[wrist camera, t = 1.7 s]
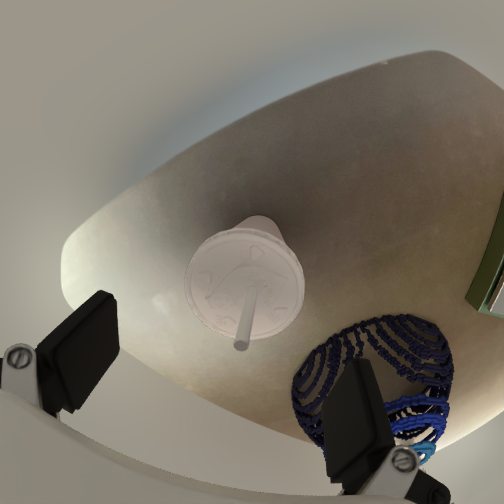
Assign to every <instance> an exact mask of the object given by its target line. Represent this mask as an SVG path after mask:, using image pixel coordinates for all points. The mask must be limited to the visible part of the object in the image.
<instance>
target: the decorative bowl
mask: <svg viewBox="0 0 504 504" xmlns="http://www.w3.org/2000/svg"><path fill="white" fill-rule="evenodd" d="M396 319H397V320H398V321H399V323H400V325H401V326H402V327H403V328H404V329H405V330H407V332H409V333H410V334H411V335H413V337H415V338H416V339H419V340H420V341H421V342H424V344H426V345H429V346H433V347H436V348H440V347H442V348H441V349H442V350H438V349H435V350H434V349H430V347H428V346H425V345H422V344H420V342H418V341H417V340H414V339H413V338H412V337H410V335H408V334H407V333H405V332H404V330H403V328H402V327H400V326H399V325H397V323H396ZM407 320H409V321H411V322H412V324H414V325H415V327H417V328H418V329H419V330H422V331H423V332H424V333H427V334H430V335H433V336H436V337H439V339H438V342H437V343H436V342H433V341H430V340H427V339H424V337H421V336H420V335H419V334H417V333H416V332H414V331H412V329H411V328H409V326H408V325H407V324H405V322H406V321H407ZM381 321H383V322H386V323H387V325H388V327H390V328H391V330H392V331H394V332H395V334H396V335H398V337H400V338H401V339H402V340H404V342H406V343H407V344H409V345H410V347H409V348H408V349H409V350H410V351H412V353H414V354H415V355H417V356H419V357H420V358H423V359H427V360H429V358H433V359H434V361H435V362H439V363H440V366H439V365H435V364H431V363H426V362H425V363H424V364H420V363H421V359H419V358H418V357H415V356H414V355H413V354H410V353H409V352H408V351H406V349H404V348H403V347H402V346H399V345H398V343H397V341H396V340H393V339H392V338H391V336H390V335H388V334H387V332H386V330H384V329H383V327H382V325H381V324H379V323H380V322H381ZM404 321H405V322H404ZM420 322H421V323H424V324H427V325H428V326H427V327H428V328H427V327H425V326H424V325H422V324H421V323H420ZM374 323H375V325H376V327H377V330H376V332H377V334H378V336H380V337H381V339H382V340H384V342H386V343H387V345H388V346H389V347H391V349H393V350H394V351H395V352H397V355H398V356H403V355H405V356H404V358H405V360H406V361H409V362H410V363H411V364H412V365H411V368H413V369H414V370H415V371H419V372H420V371H421V370H426V371H430V372H435V373H436V376H435V377H434V378H432V377H427V376H425V374H420V373H417V374H416V375H414V372H413V370H411V369H410V368H409V367H406V366H405V365H404V364H403V365H402V366H400V364H401V363H400V362H398V360H397V358H396V357H392V355H391V354H389V353H388V350H385V348H383V347H382V345H379V346H377V345H378V343H379V342H378V340H377V339H375V337H374V335H371V332H370V330H369V329H366V328H364V327H366V326H367V325H369V326H370V325H371V324H374ZM359 327H360V328H361V331H362V333H365V332H366V333H367V335H368V339H367V341H368V342H370V344H371V346H373V347H374V349H375V350H376V351H377V350H378V349H379V352H378V355H381V357H383V358H384V360H387V362H389V363H390V365H393V367H395V368H396V370H398V371H397V374H399V375H400V377H403V376H404V375H407V377H406V378H407V380H409V381H410V382H412V383H414V382H415V381H419V382H421V383H422V384H426V385H428V387H427V388H426V389H425V390H424V391H423V392H422V393H421V394H420V393H418V394H417V395H412V396H411V397H409V396H401V397H400V398H399V399H396V400H395V401H391V402H390V403H389V402H385V403H384V405H385V408H386V412H387V413H389V412H390V411H392V412H393V411H394V410H399V411H397V412H395V413H393V414H390V415H389V416H388V418H389V420H390V421H389V422H390V425H391V429H392V432H393V436H394V438H395V437H396V438H397V439H400V438H401V439H402V440H404V439H405V441H407V440H408V439H412V438H413V437H417V436H418V435H419V434H422V433H423V432H424V431H425V430H427V429H428V428H429V427H433V428H435V429H434V430H433V432H432V433H430V434H429V435H428V436H427V437H426V438H424V439H423V440H422V441H421V442H418V443H414V444H413V445H408V446H410V447H412V448H413V449H414V450H415V451H416V452H417V454H418V455H419V456H421V455H422V454H423V453H424V454H425V458H424V459H422V460H421V461H420V466H421V465H422V464H424V463H425V462H426V461H428V459H429V458H430V456H432V455H433V454H434V452H435V450H436V445H435V443H436V441H438V439H439V438H440V437H441V435H442V434H443V433H444V430H445V428H446V423H447V421H446V418H447V417H448V414H449V410H450V407H449V403H447V400H448V398H449V393H450V390H451V384H452V383H451V381H452V380H453V373H454V369H453V368H454V366H453V365H454V364H453V363H452V362H453V359H452V354H451V353H450V352H451V351H450V348H449V346H448V345H449V344H448V341H447V340H446V338H445V337H444V335H443V334H442V333H441V332H440V331H439V328H438V327H437V326H436V324H433V323H430V322H428V321H425V320H423V319H420V318H417V317H415V316H412V315H409V314H407V315H406V316H405V315H403V314H400V315H399V316H398V315H397V316H396V317H394V316H391V315H389V314H388V316H384V315H383V316H382V318H381V319H378V318H375V317H374V318H373V319H370V321H369V320H367V321H366V322H365V321H361V323H360V324H356V323H355V324H354V325H353V327H349V329H348V328H346V329H345V330H344V329H343V330H342V331H341V333H340V335H337V334H334V335H333V337H329V339H328V340H327V342H326V343H325V344H322V345H319V346H318V347H317V349H316V350H313V351H312V352H311V354H310V355H309V357H308V358H307V360H306V361H305V362H304V364H303V365H302V367H301V368H300V370H299V371H298V372H297V374H296V375H295V377H294V378H293V383H292V384H293V386H292V401H293V408H294V410H295V414H296V418H297V419H298V422H299V425H300V426H301V428H303V431H305V433H306V434H307V435H308V436H309V438H310V439H311V441H314V442H315V445H317V446H318V447H321V449H322V450H323V451H324V452H323V454H324V457H325V461H326V456H325V443H324V431H323V421H321V420H319V419H318V418H319V417H320V416H321V415H322V410H321V411H320V412H319V413H318V414H317V415H314V416H313V417H312V416H311V415H308V414H307V413H308V412H309V413H310V412H313V411H314V410H315V409H316V408H317V407H318V406H319V405H320V404H321V403H322V402H323V400H324V399H325V398H326V395H327V394H328V393H329V389H330V388H331V387H332V385H333V382H334V378H335V377H336V376H337V372H338V368H339V365H340V358H341V356H340V354H341V348H342V344H341V341H340V340H339V339H338V338H339V337H342V336H343V338H344V342H343V345H344V347H346V348H347V352H346V356H347V357H346V358H345V360H343V361H342V364H345V367H346V365H347V364H348V362H349V361H353V359H354V358H353V355H354V351H355V347H354V346H352V344H351V341H350V340H348V338H347V334H349V333H350V332H353V331H354V334H355V337H356V340H357V343H356V346H358V347H359V349H360V351H359V352H358V353H359V354H356V355H355V358H360V356H361V357H362V356H363V352H362V350H363V346H364V342H363V341H361V339H360V337H359V335H360V334H361V333H360V332H359V331H357V328H359ZM329 344H332V347H333V348H332V347H330V348H329V352H330V353H329V354H328V356H329V358H328V362H330V364H327V367H328V368H330V370H329V371H328V372H329V374H328V375H327V379H326V380H325V383H324V385H323V386H322V389H321V391H320V392H319V393H318V395H320V397H316V399H315V400H314V401H313V402H312V403H311V402H310V403H309V404H308V405H306V406H301V404H300V402H299V401H298V398H299V399H302V398H304V399H305V398H306V397H307V396H308V395H309V394H310V393H311V391H312V390H313V389H314V388H315V386H316V385H317V382H318V381H319V377H320V376H321V375H322V374H321V372H322V371H323V367H324V364H325V360H326V358H325V356H326V355H327V354H326V348H325V346H328V345H329ZM317 353H321V357H320V360H321V361H320V363H319V364H320V367H319V368H318V370H317V373H316V376H315V378H314V381H313V382H312V384H311V385H310V386H309V387H308V389H307V390H306V391H305V392H304V393H302V392H299V391H298V388H301V387H302V386H303V384H304V383H305V382H306V380H307V379H308V378H309V376H310V375H311V372H312V370H313V367H314V362H315V356H316V355H317ZM428 354H430V355H429V356H427V355H428ZM361 359H362V358H361ZM307 364H308V366H307V369H306V372H305V374H304V375H303V376H302V373H301V372H302V371H303V369H304V368H305V367H306V365H307ZM345 367H344V369H345ZM409 374H410V375H411V376H408V375H409ZM445 375H446V376H445ZM438 378H439V379H438ZM430 388H431V389H430ZM439 388H440V389H439ZM445 388H446V389H445ZM429 389H430V392H429V393H430V394H429V397H428V396H426V394H425V393H426V392H427V391H428V390H429ZM444 389H445V390H444ZM438 393H439V394H438ZM437 396H438V397H437ZM432 405H434V406H433V407H432V408H431V409H429V408H430V407H431V406H432ZM408 407H409V408H411V410H412V412H416V414H417V415H412V414H411V413H408V412H407V409H406V408H408ZM401 408H402V409H401ZM428 409H429V410H428ZM427 410H428V411H427ZM402 411H403V413H405V414H406V416H408V417H402V415H401V412H402ZM426 411H427V412H426ZM435 411H436V412H435ZM425 412H426V413H425ZM418 413H422V414H418ZM441 413H443V415H441ZM396 414H397V415H398V416H399V417H400V419H398V420H397V421H396V419H397V417H396ZM315 424H316V427H314V425H315ZM419 430H421V431H419ZM399 431H400V432H402V434H401V433H400V432H399ZM416 431H417V432H416ZM415 432H416V433H415ZM396 433H397V434H396ZM407 433H409V435H407ZM436 434H437V435H436ZM322 435H323V436H322ZM315 436H316V437H315ZM433 436H436V437H435V438H434V439H433V440H432V441H431V442H430V441H429V440H430V439H431V438H432V437H433ZM420 470H422V471H423V472H425V473H426V471H424V470H423V469H420Z"/></svg>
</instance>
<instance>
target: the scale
mask: <svg viewBox="0 0 504 504" xmlns="http://www.w3.org/2000/svg"><path fill="white" fill-rule="evenodd" d="M503 271H504V195H503V199H502V203H501V206H500V210H499V214H498V217H497V220H496V223H495V227H494V230H493V233H492V236H491V239H490V241H489V244H488V247H487V250H486V252H485V255H484V257H483V260H482V262H481V265H480V267H479V269H478V272H477V274H476V276H475V279H474V281H473V283H472V285H471V287H470V289H469V291H468V293H467V296H466V298H465V299H466V300H467V301H468V302H469V303H470V304H471V305H472V306H473V307H474V308H475V309H476V310H477V311H478V312H481V313H485V314H489V315H493V316H497V317H501V318H504V315H501V314H497V313H493V312H490V311H489V310H488V309H487V306H488V304H489V302H490V300H491V298H492V296H493V294H494V291H495V289H496V287H497V285H498V283H499V281H500V278H501V276H502V274H503Z"/></svg>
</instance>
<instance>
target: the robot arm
mask: <svg viewBox="0 0 504 504" xmlns="http://www.w3.org/2000/svg"><path fill="white" fill-rule="evenodd" d="M119 350H120V346H119V334H118V318H117V301H116V299H114V296H113V294H111V293H108V292H105V291H103V290H99V291H97V292H96V293H95V294H94V295H93V296H91V297H90V298H89V299H88V300H87V301H86V302H84V303H83V304H82V305H81V306H80V307H79V308H78V309H76V310H75V311H74V312H73V313H72V314H71V315H70V316H69V317H68V318H66V319H65V320H64V321H63V322H62V323H61V324H60V325H59V326H57V327H56V328H55V329H54V330H53V331H52V332H51V333H50V334H49V335H48V336H47V337H46V338H45V339H44V340H43V341H42V342H41V343H39V344H38V345H37V348H36V349H35V350H34V349H33V348H32V347H31V346H29V345H27V344H21V343H20V344H15V345H12V346H11V347H9V348H8V349H7V350H6V352H5V353H4V357H3V358H0V504H450V500H451V495H450V491H449V489H448V488H447V487H446V486H445V485H444V484H442V483H440V482H439V481H437V480H436V479H434V478H433V477H431V476H429V475H428V474H426V473H425V472H423V471H422V470H420V469H419V466H420V458H419V455H418V454H417V452H416V451H415V450H414V449H413V448H412V447H410V446H407V445H397V446H396V444H395V440H394V436H393V432H392V429H391V425H390V422H389V418H388V415H387V412H386V408H385V405H384V402H383V399H382V396H381V393H380V390H379V386H378V383H377V380H376V377H375V375H374V372H373V369H372V366H371V363H370V361H369V360H368V359H361V358H354V359H353V361H349V362H348V364H347V365H346V367H345V369H344V370H343V372H342V374H341V375H340V377H339V378H338V380H337V382H336V383H335V385H334V386H333V388H332V390H331V391H330V393H329V394H328V396H327V397H326V399H325V400H324V402H323V404H322V420H323V431H324V443H325V456H326V471H327V476H328V477H330V479H331V483H342V488H343V489H342V490H341V491H340V493H339V494H338V495H337V496H301V495H284V494H273V493H263V492H255V491H248V490H242V489H236V488H231V487H225V486H220V485H216V484H211V483H207V482H202V481H198V480H195V479H191V478H188V477H184V476H181V475H177V474H174V473H171V472H168V471H165V470H162V469H159V468H156V467H153V466H151V465H148V464H145V463H143V462H140V461H138V460H135V459H133V458H130V457H128V456H126V455H123V454H121V453H119V452H117V451H114V450H112V449H110V448H108V447H106V446H104V445H102V444H100V443H98V442H96V441H94V440H92V439H90V438H88V437H87V436H85V435H83V434H81V433H79V432H78V431H76V430H74V429H72V428H71V427H69V426H67V425H66V424H64V423H62V422H61V421H60V416H59V412H60V411H61V409H62V408H63V409H64V410H66V411H68V412H69V413H71V414H73V412H74V411H75V409H77V410H79V409H80V408H81V406H82V405H83V404H84V402H85V401H86V399H87V398H88V396H89V395H90V393H91V392H92V391H93V389H94V388H95V386H96V385H97V384H98V382H99V381H100V379H101V378H102V376H103V375H104V373H105V372H106V371H107V369H108V368H109V367H110V365H111V364H112V363H113V361H114V360H115V359H116V357H117V356H118V354H119ZM452 504H454V503H452Z"/></svg>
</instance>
